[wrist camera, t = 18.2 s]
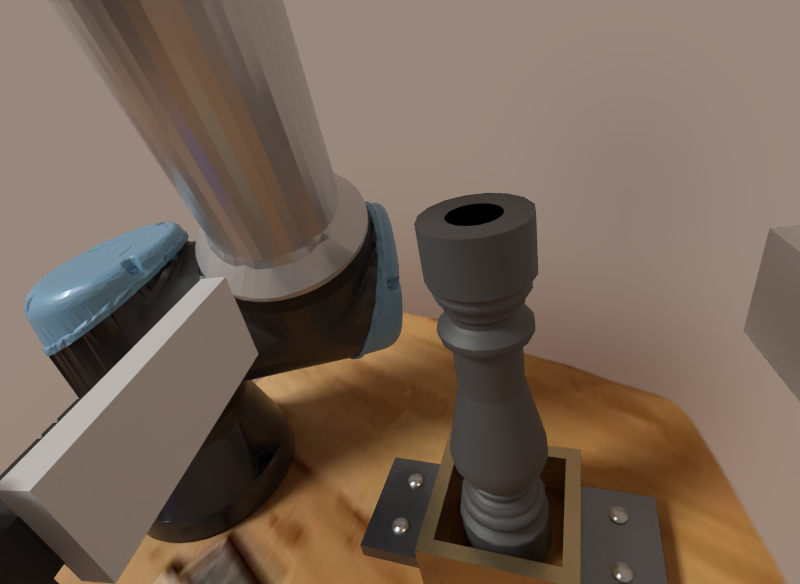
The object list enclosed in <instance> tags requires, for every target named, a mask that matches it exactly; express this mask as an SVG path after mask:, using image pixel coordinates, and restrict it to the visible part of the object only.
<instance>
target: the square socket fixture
mask: <svg viewBox="0 0 800 584" xmlns="http://www.w3.org/2000/svg"><path fill="white" fill-rule="evenodd" d="M450 439H451V433H450V434H449V438H448V441H447V444H446V448H445V451H444V454H443V458H442V461H441V464H434V463H428V462H421V461H415V460H408V459H402V458H395V460H394V463H393V465H392V468H391V470H390V473H389V475H388V478H387V480H386V483H385V485H384V488H383V490H382V493H381V495H380V498H379V500H378V503H377V505H376V508H375V510H374V513H373V515H372V518H371V520H370V523H369V525H368V528H367V530H366V532H365V535H364V537H363V540H362V542H361V545H360V546H361V548H362V551H363V554H364V555H367V556H371V557H376V558H380V559H384V560H388V561H392V562H396V563H401V564H405V565H409V566H413V567H417V568H419V569H420V572H421V576H422V579H423V583H424V584H668V582H667V575H666V568H665V562H664V555H663V548H662V541H661V534H660V527H659V520H658V513H657V507H656V500H655V497H650V496H644V495H637V494H631V493H624V492H618V491H611V490H604V489H598V488H591V487H585V486H581V450H578V449H571V448H563V447H555V446H548V458H547V461H546V463H545V465H544V468H543V470H542V472H541V475H540V478H541V480H542V482H543V484H544V485H545V490H546V491H552V492H558V493H565V503H564V532H563V562H562V567H559V566H554V565H550V564H545V563H540V562H536V561H531V560H526V559H522V558H517V557H512V556H508V555H503V554H498V553H494V552H489V551H485V550H480V549H475V548H471V547H466V546H461V545H457V544H452V543H449V540H450V536H451V532H452V528H453V523H454V519H455V515H456V511H457V507H458V503H459V499H460V495H461V490H462V483H463V480H464V477H463V476H462V475H461V474H460V473H459V472H458V470H457V469H456V466H455V464H454V461H453V458H452V456H451V453H450Z"/></svg>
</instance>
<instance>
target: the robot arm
mask: <svg viewBox="0 0 800 584" xmlns="http://www.w3.org/2000/svg"><path fill="white" fill-rule="evenodd" d="M48 1H49V2H50V4H51V5H52V7H53V8H54V10H55V11H56V13H57V14H58V16H59V17H60V19H61V20H62V21H63V23H64V25H65V26H66V27H67V29H68V30H69V32H70V34H71V35H72V36H73V38H74V39H75V41H76V42H77V44H78V45H79V47H80V48H81V50H82V51H83V53H84V54H85V56H86V57H87V59H88V60H89V61H90V63H91V65H92V66H93V68H94V69H95V71H96V72H97V74H98V75H99V76H100V78H101V79H102V81H103V82H104V84H105V85H106V87H107V88H108V90H109V91H110V93H111V94H112V96H113V97H114V99H115V100H116V102H117V103H118V104H119V106H120V107H121V109H122V111H123V112H124V113H125V115H126V116H127V118H128V119H129V121H130V122H131V124H132V125H133V127H134V128H135V130H136V131H137V133H138V134H139V136H140V137H141V139H142V140H143V142H144V143H145V144H146V146H147V148H148V149H149V151H150V152H151V153H152V155H153V156H154V158H155V159H156V161H157V162H158V164H159V165H160V167H161V168H162V170H163V171H164V173H165V174H166V176H167V177H168V179H169V180H170V182H171V183H172V185H173V186H174V188H175V189H176V191H177V192H178V193H179V195H180V196H181V198H182V199H183V201H184V202H185V204H186V205H187V207H188V208H189V210H190V211H191V213H192V214H193V216H194V217H195V219H196V220H197V222H198V223H199V225H200V229H199V231H198V235H197V238H196V241H193V242H190V241H188V234H187V232H186V231H184V230H183V229H182V228H181V227H180V226H179V225H178V224H176V223H173V222H168V223H163V222H162V223H155V224H151V225H147V226H144V227H141V228H138V229H135V230H132V231H130V232H127V233H124V234H122V235H119V236H117V237H115V238H112V239H110V240H107V241H105V242H103V243H101V244H99V245H97V246H95V247H93V248H91V249H89V250H87V251H85V252H83V253H81V254H79V255H78V256H75V257H74V258H72V259H70V260H69V261H67V262H65V263H63V264H62V265H61V266H59V267H57V268H56V269H55V270H53V271H51V272H50V273H49V274H47V275H46V276H45V277H43V278H42V279H41V280H40V281H39V282H38V283H37V284H36V285H35V286H34V287H33V288H32V289H31V291H30V292H29V294H28V296H27V298H26V301H25V313H26V317H27V319H28V320H29V322H30V324H31V325H32V327H33V329H34V331H35V332H36V334H37V336H38V337H39V339H40V341H41V342H42V344H43V346H44V347H43V351H44V353H45V354H47V356H49V357H50V359H51V360H52V361H53V363H54V364H55V365H56V367H57V368H58V370H59V371H60V372H61V374H62V375H63V376H64V378H65V379H66V381H67V382H68V383H69V385H70V386H71V388H72V389H73V390H74V392H75V393H76V394H77V396H78V397H79V399H77V400H76V401H75V402H74V403H73V404H72V405H71V406H70V407H69V408H68V409H67V410H66V411H65V412H64V413H63V414H62V415H61V416H60V417H59V418H58V419H57V420H58V421H57V423H53V424H52V425H51V426H50V427H49V428H48V429H47V430H46V431H45V432H44V433H43V434H42V437H41V439H37V440H36V441H35V442H34V443H33V444H32V445H31V446H30V447H29V448H28V449H27V450H26V451H25V452H24V453H23V454H22V455H20V456H19V457H18V459H17V460H15V462H13V463H12V464H11V465H10V467H8V469H6V470H5V471H4V472H3V474H2V475H0V584H59V583H58V582H57V581H56V580H55V579H54V577H55V576H56V574H57V573H58V572H59V570H60V569H61V568H62V566H63V565H64V564H65V565H66V566H67V567H68V568H69V569H70V570H71V571H72V572H73V573H74V574H75V575H76V576H77V577H78V578H79V579H80V580H81V581H89V582H103V583H116V582H117V581H118V579H119V577H120V576H121V574H122V573H123V571H124V569H125V568H126V566H127V565H128V563H129V561H130V560H131V558H132V556H133V555H134V553H135V552H136V550H137V548H138V547H139V545H140V544H141V542H142V540H143V539H144V537H145V536H146V534H147V535H149V536H150V537H152V538H154V539H157V540H160V541H165V542H188V541H194V540H198V539H202V538H206V537H208V536H211V535H214V534H216V533H219V532H221V531H223V530H225V529H227V528H229V527H231V526H233V525H234V524H236V523H238V522H239V521H241V520H242V519H244V518H245V517H247V516H248V515H249V514H251V513H252V512H253V511H254V510H256V509H257V508H258V507H259V506H260V505H261V504H262V503H263V502H264V501H265V500H266V499H267V498H268V497H269V496H270V495H271V494H272V493H273V492H274V490H275V489H276V488H277V486H278V485H279V484H280V482H281V481H282V479H283V477H284V476H285V474H286V472H287V470H288V468H289V466H290V463H291V460H292V456H293V451H294V438H293V433H292V430H291V428H290V426H289V423H288V421H287V418H286V416H285V414H284V413H283V411H282V410H281V408H280V407H279V406H278V405H277V404H276V403H275V402H274V401H273V400H272V399H271V398H269V397H268V396H267V395H266V394H265V393H264V392H263V391H262V390H261V389H260V388H259V387H258V386H257V385H256V384H255V383H254V382H252V380H253V379H257V378H261V377H266V376H270V375H275V374H279V373H284V372H288V371H293V370H297V369H302V368H306V367H311V366H315V365H320V364H324V363H329V362H333V361H338V360H342V359H347V358H351V359H358V358H361V357H363V356H364V355H365V354H368V353H371V352H375V351H378V350H382V349H385V348H388V347H390V346H391V345H393V344H394V343H395V342H396V341H397V339H398V337H399V335H400V333H401V329H402V317H403V310H402V294H401V287H400V283H399V264H398V257H397V251H396V246H395V241H394V235H393V231H392V227H391V223H390V220H389V217H388V214H387V212H386V210H385V208H384V207H383V206H382V205H381V204H378V203H369V202H365V201H364V200H363V198H362V196H361V194H360V193H359V191H358V190H357V188H356V187H355V186H354V185H353V184H351V182H349V181H348V180H346V179H345V178H343V177H341V176H339V175H337V174H335V173H333V171H332V167H331V164H330V160H329V157H328V154H327V150H326V146H325V143H324V140H323V136H322V133H321V130H320V126H319V122H318V119H317V115H316V112H315V109H314V105H313V102H312V98H311V95H310V91H309V88H308V84H307V82H306V78H305V74H304V71H303V67H302V64H301V60H300V57H299V54H298V50H297V47H296V43H295V40H294V36H293V33H292V30H291V26H290V23H289V19H288V16H287V12H286V9H285V5H284V2H283V0H48ZM744 332H745V333H746V335H747V336H748V337H749V338H750V340H751V341H752V342H753V343H754V345H755V346H756V347H757V348H758V350H759V351H760V352H761V353H762V355H763V356H764V357H765V358H766V360H767V361H768V362H769V363H770V364H771V366H772V367H773V368H774V369H775V371H776V372H777V373H778V375H779V376H780V377H781V378H782V380H783V381H784V382H785V383H786V385H787V386H788V387H789V388H790V390H791V391H792V392H793V393H794V394H795V396H796V397H797V398H798V400H799V401H800V225H799V226H788V227H778V228H770V229H769V233H768V237H767V241H766V244H765V248H764V253H763V256H762V260H761V264H760V268H759V272H758V276H757V280H756V284H755V288H754V292H753V295H752V299H751V303H750V307H749V311H748V315H747V319H746V323H745V327H744Z"/></svg>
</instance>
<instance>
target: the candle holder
mask: <svg viewBox="0 0 800 584" xmlns="http://www.w3.org/2000/svg"><path fill="white" fill-rule="evenodd" d="M414 225H415V231H416V237H417V243H418V248H419V254H420V260H421V266H422V272H423V277H424V282H425V284H426V285H427V287H428V289H429V290H430V292H432V295H433V296H434V298H435V300H436V301H437V303H438V304H439V305H440V306H441V307H442V308H443V309H444V313H443V314H442V315H441V316H440V317H439V319H438V324H437V332H438V335H439V337H440V339H441V341H442V343H443V345H444V346H445V347H446V348H448V349H449V350H451V351H452V352H453V354H454V361H455V367H456V374H457V381H458V389H457V397H456V404H455V411H454V418H453V424H452V431H451V439H450V453H451V456H452V458H453V461H454V464H455V466H456V469H457V470H458V472H459V473H460V474H461V475H462V476H463V477H464V480H463V483H462V495H461V508H460V511H461V517H462V523H463V528H464V534H465V538H466V541H467V544H468V547H471V548H475V549H480V550H485V551H489V552H494V553H498V554H503V555H508V556H512V557H517V558H522V559H526V560H531V561H536V562H540V563H542V562H543V561H544V560H545V559H546V557H547V554H548V551H549V548H550V546H551V521H550V507H549V499H548V497H547V495H546V494H545V485H544V484H543V482H542V480H541V478H540V475H541V472H542V470H543V468H544V465H545V463H546V461H547V458H548V446H547V437H546V432H545V430H544V427H543V424H542V422H541V419H540V417H539V414H538V411H537V409H536V406H535V403H534V401H533V398H532V395H531V392H530V390H529V387H528V384H527V382H526V379H525V374H524V357H523V346H525V345H526V344H528V342H529V340H530V339H531V337H532V335H533V334H534V332H535V318H534V313H533V312H532V311H531V310H530V309H529V307H527V305H525V304H524V303H525V299H526V297H527V296H528V294H529V293H530V291H531V290H532V288H533V283H532V282H533V280H534V279H535V278H536V276H537V275H538V256H537V230H536V229H537V228H536V210H535V204H534V203H532V202H531V201H529V200H528V199H526V198H524V197H520V196H516V195H511V194H502V193H483V194H474V195H465V196H461V197H457V198H453V199H449V200H445V201H443V202H440V203H438V204H436V205H433V206H431V207H429V208H427V209H426V210H425V211H423V212H422V213H421V214H419V215H418V216H417V219H416V222H415V224H414Z"/></svg>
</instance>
